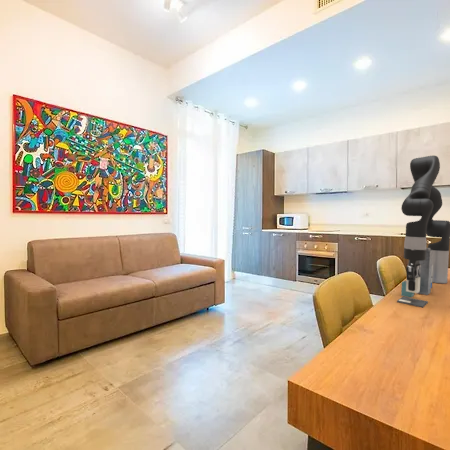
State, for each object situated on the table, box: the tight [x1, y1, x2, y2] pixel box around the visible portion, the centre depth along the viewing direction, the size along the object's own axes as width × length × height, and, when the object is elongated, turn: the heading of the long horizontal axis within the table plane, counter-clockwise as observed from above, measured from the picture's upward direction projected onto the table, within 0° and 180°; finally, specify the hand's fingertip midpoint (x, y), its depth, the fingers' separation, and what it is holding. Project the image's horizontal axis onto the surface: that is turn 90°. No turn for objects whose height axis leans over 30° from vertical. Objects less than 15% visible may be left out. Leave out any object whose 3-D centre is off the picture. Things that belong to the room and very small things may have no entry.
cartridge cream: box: [406, 276, 420, 294], centre depth 118 cm, size 4×4×6 cm
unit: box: [418, 247, 433, 296], centre depth 134 cm, size 7×8×21 cm
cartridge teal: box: [400, 280, 415, 298], centre depth 128 cm, size 4×4×6 cm
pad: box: [396, 296, 429, 308], centre depth 118 cm, size 9×9×1 cm
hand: (412, 289), depth 118 cm, fingers closed on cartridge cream, 4 cm apart
